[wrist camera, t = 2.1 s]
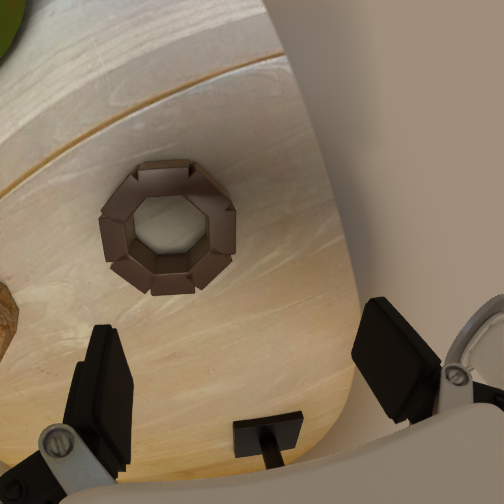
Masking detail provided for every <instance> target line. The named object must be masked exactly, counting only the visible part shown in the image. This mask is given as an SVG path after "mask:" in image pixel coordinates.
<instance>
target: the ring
mask: <svg viewBox="0 0 504 504" xmlns="http://www.w3.org/2000/svg"><path fill="white" fill-rule="evenodd" d="M174 195H183V196H184V197H185V198H186V199H187V200H189V201H190V202H191V203H192V204H193V205H194V206H195V207H197V208H198V209H199V210H200V211H201V212H202V213H203V214H205V215H206V234H205V235H204V236H203V237H202V238H201V239H200V240H199V241H198V242H197V243H196V245H195V246H194V247H193V248H192V249H191V250H190V251H189V252H188V253H187V254H171V255H157V254H155V253H154V252H153V251H152V250H150V249H149V248H148V247H146V246H145V245H144V244H143V243H141V242H140V241H139V240H138V239H136V238H135V230H134V222H133V213H134V211H135V210H136V209H137V208H138V207H139V206H140V204H141V203H142V202H143V201H144V200H145V199H146V197H158V196H174ZM101 212H102V215H101V216H100V217H99V225H100V232H101V238H102V243H103V249H104V255H105V260H106V262H112V264H111V266H110V269H111V270H113V271H114V272H115V273H117V274H118V275H119V276H121V277H122V278H123V279H125V280H126V281H127V282H129V283H130V284H132V285H133V286H134V287H136V288H137V289H138V290H140V291H141V292H143V293H144V294H146V293H147V291H148V290H149V289H151V295H152V296H161V295H178V294H194V293H195V286H196V287H197V288H199V289H200V290H203V289H204V288H205V287H206V286H207V285H208V284H209V283H210V282H211V281H212V280H213V279H214V278H215V277H216V276H217V275H218V274H219V273H220V272H221V271H223V270H224V269H225V268H226V267H227V266H228V265H229V264H230V263H231V262H232V258H231V255H234V254H235V253H236V210H235V207H234V205H233V202H232V200H231V198H230V196H229V194H228V192H227V190H226V189H225V188H224V187H223V186H222V185H220V184H219V183H218V182H217V181H216V180H215V179H214V178H213V177H212V176H211V175H210V174H209V173H208V172H206V171H205V170H204V169H203V168H202V167H201V166H200V165H199V164H198V163H197V162H195V163H194V164H193V165H192V166H191V167H190V168H189V160H188V159H183V160H166V161H151V162H144V163H143V164H142V165H141V166H140V167H139V166H136V167H135V168H134V169H133V171H132V172H131V173H130V174H129V175H128V176H127V178H126V179H125V180H124V181H123V182H122V184H121V185H120V186H119V187H118V189H117V190H116V191H115V192H114V194H113V195H112V196H111V197H110V199H109V200H108V201H107V203H106V204H105V205H104V206H103V208H102V209H101Z"/></svg>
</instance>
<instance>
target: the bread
mask: <svg viewBox="0 0 504 504" xmlns="http://www.w3.org/2000/svg"><path fill="white" fill-rule="evenodd" d="M18 314H19V310H18V308H17V306H16V304H15V302H14V300H13V298H12V296H11V294H10V292H9V290H8V288H7V286H5V285H4V284H2V283H0V362H1V360H2V358H3V356H4V354H5V352H6V350H7V348H8V346H9V344H10V342H11V341H12V339H13V337H14V335H15V333H16V329H17V321H18Z"/></svg>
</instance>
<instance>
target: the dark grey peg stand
mask: <svg viewBox="0 0 504 504" xmlns="http://www.w3.org/2000/svg"><path fill="white" fill-rule="evenodd" d="M303 419H304V417H303V414H302V412H301V411H300V412H294V413H289V414H284V415H278V416H272V417H266V418H259V419H253V420H245V421H237V422H233V437H234V454H235V458H239V457H247V456H254V455H260V454H262V455H263V459H264V463H265V466H266V470H268V469H274V468H279V467H283V466H285V465H284V462H283V458H282V455H281V452H280V451H283V450H288V449H293V448H295V446H296V442H297V439H298V436H299V433H300V429H301V426H302V423H303Z"/></svg>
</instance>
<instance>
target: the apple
mask: <svg viewBox="0 0 504 504" xmlns="http://www.w3.org/2000/svg"><path fill="white" fill-rule="evenodd" d="M25 4H26V0H0V58H1V57H2V56H3V54H4V53H5V52H6V51H7V49H8V48H9V47H10V45H11V42H12V40H13V38H14V36H15V34H16V32H17V30H18V28H19V26H20V24H21V22H22V18H23V13H24V9H25Z"/></svg>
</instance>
